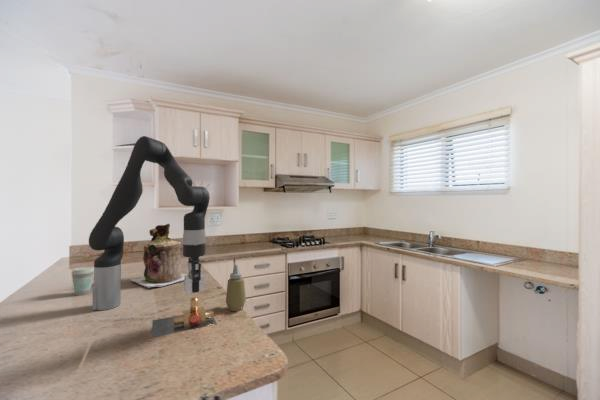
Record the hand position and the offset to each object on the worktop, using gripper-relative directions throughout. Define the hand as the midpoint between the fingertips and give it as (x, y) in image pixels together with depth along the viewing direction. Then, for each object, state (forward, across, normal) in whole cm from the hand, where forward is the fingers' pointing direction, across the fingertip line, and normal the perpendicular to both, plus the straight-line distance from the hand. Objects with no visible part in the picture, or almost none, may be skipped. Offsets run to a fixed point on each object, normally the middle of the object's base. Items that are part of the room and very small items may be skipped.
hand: (194, 289), depth 96 cm
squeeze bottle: (+13, -8, +17) cm, 23 cm away
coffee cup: (+13, -61, -43) cm, 76 cm away
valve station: (+13, -2, -3) cm, 13 cm away
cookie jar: (+13, -67, -9) cm, 69 cm away
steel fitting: (0, 0, 0) cm, 0 cm away
